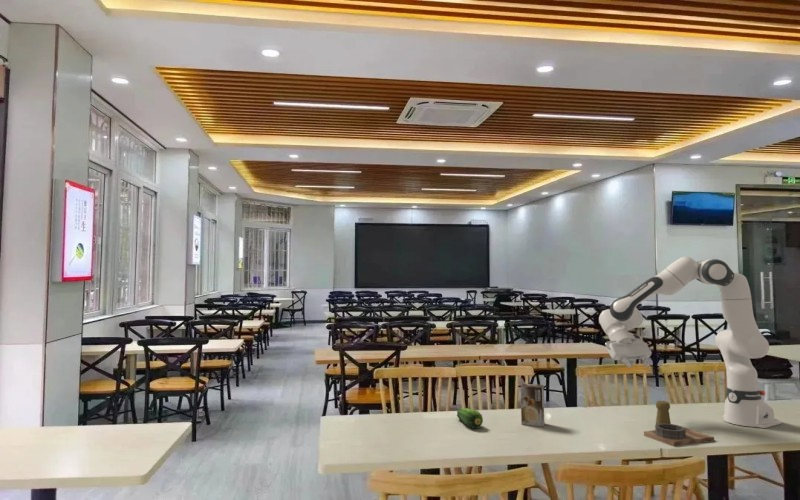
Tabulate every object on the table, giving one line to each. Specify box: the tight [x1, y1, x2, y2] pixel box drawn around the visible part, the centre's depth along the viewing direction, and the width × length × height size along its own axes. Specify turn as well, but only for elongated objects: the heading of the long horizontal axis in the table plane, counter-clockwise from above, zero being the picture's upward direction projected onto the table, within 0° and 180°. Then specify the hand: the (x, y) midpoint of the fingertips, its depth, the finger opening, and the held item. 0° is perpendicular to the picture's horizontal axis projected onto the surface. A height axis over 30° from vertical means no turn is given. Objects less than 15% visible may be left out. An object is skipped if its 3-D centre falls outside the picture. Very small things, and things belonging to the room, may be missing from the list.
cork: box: [655, 400, 672, 425], centre depth 213 cm, size 6×6×11 cm
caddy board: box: [643, 423, 715, 447], centre depth 200 cm, size 20×14×4 cm
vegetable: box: [456, 407, 484, 429], centre depth 220 cm, size 7×7×20 cm
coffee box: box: [520, 383, 545, 427], centre depth 220 cm, size 9×6×16 cm
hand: (639, 366), depth 226 cm, fingers open, 8 cm apart
